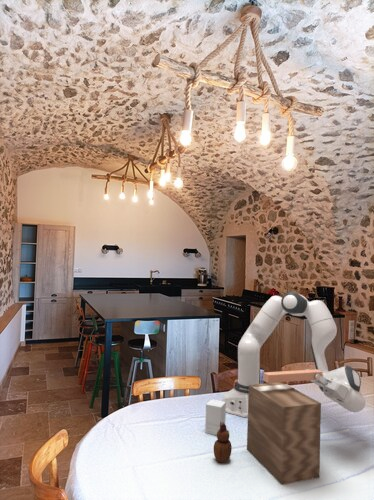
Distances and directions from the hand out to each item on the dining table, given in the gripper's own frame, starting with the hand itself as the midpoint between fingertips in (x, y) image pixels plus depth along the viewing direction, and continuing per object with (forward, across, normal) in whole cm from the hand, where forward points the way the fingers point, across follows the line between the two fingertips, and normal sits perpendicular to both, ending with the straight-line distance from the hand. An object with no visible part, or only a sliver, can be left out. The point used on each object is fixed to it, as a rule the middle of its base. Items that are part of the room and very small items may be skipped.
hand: (311, 373), depth 144 cm
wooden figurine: (+16, -4, +46) cm, 49 cm away
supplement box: (+10, -27, +43) cm, 51 cm away
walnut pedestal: (-2, +3, +35) cm, 36 cm away
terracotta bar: (+7, 0, +6) cm, 9 cm away
